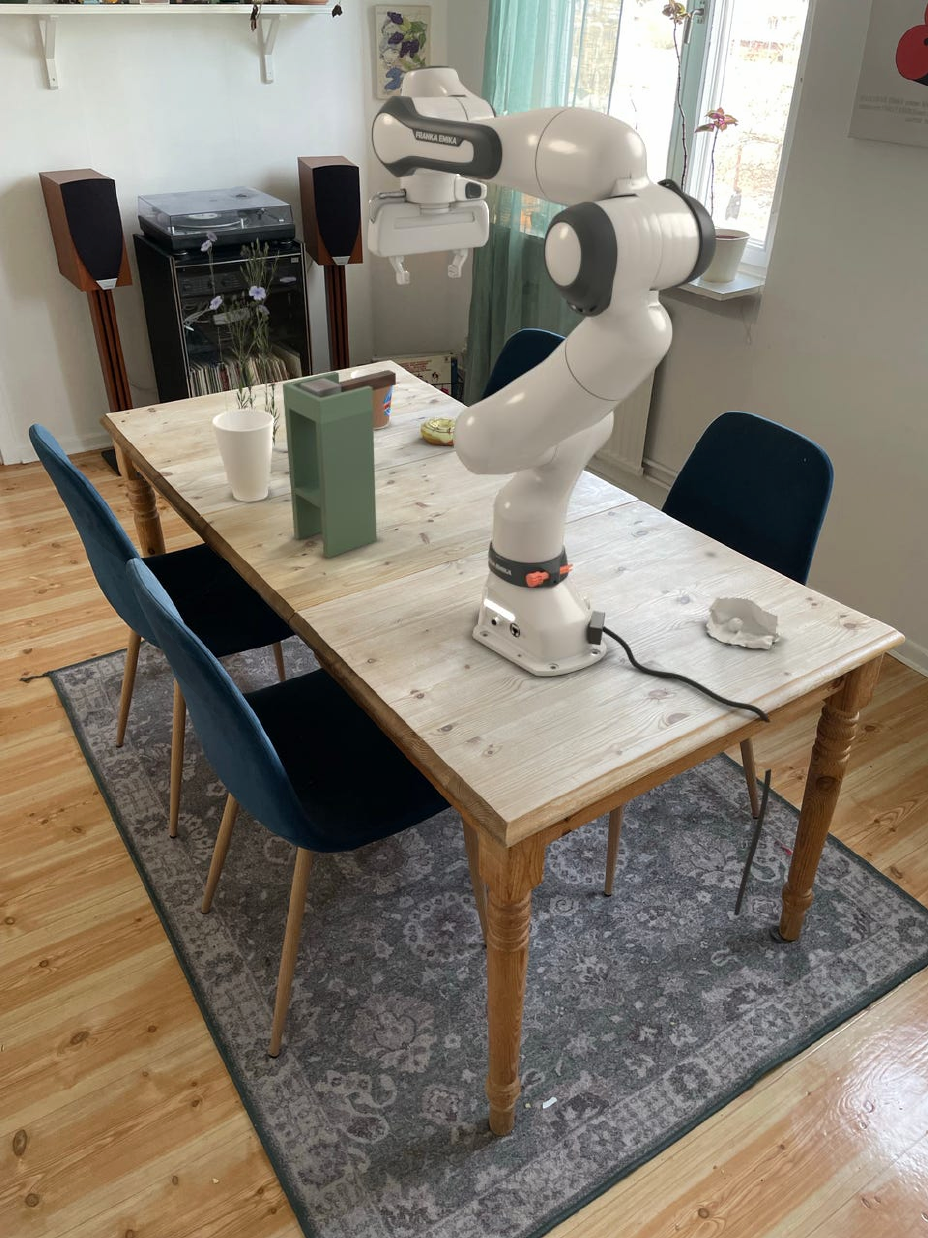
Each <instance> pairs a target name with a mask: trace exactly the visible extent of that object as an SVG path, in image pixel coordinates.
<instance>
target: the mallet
mask: <svg viewBox="0 0 928 1238" xmlns="http://www.w3.org/2000/svg"><path fill="white" fill-rule="evenodd" d="M385 370H386V371H382V372H378V373H374V374H370V375H366V376H362V377H358V378H354V379H351V378H350V379H346V380H342V381H339V382H337V383H334V382H332V381H330V380H328V379H325V378H322V379H318V380H314V381H310V382H305V383H301V384H300V389H303V390H305V391H307V392H309V393H311V394H313V395H315V396H318V397H320V398H322V397H326V396H330V395H334V394H338V393H342V392H346V391H350V390H354V389H358V388H362V387H366V386H370V387H372V391H373V390H377V389H381V388H385V387H389V386H393V387H394V386H396V385H397V373H396V372H395V371H392V370H390V369H385Z"/></svg>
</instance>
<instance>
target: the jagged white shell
mask: <svg viewBox="0 0 928 1238" xmlns="http://www.w3.org/2000/svg"><path fill="white" fill-rule="evenodd" d="M708 612H709V613H710V614H709V616H708V620H707V624H706V625H705V627H706V628H707V630H706V632H707V633H708V635H709V636H710V637H711V638H714V639H715V640H717V641H719V642H721V643H723V644H730V645H735V646H737V645H738V646H740V647H745V648H749V649H764V650H770V648H771V647H772V644H773V643H777V642H779V641H780V639H781V638H782V637H781V634H780V633H779V632H778V631H777V628H778V627H779V623H778V622H779V621H778V615H775V614H772V613H771V612H769V611H766V610H764V609H762V607H761V606H759V605H757V604H756V602H755V601H753V600H752V599H748V598H742V597H740V598H739V597H730V598H729V597H722V598H720V597H719V596H718V597H715V600H714V601H713V602H712V603H711V604H710V605H709V607H708Z"/></svg>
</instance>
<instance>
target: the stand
mask: <svg viewBox="0 0 928 1238" xmlns="http://www.w3.org/2000/svg"><path fill="white" fill-rule="evenodd" d="M339 374H340V373H339V372H337V371H330V372H326V373H323V374H318V375H315V376H310V377H307V378H301V379H297V380H293V381H289V382H285V383H282V391H283V392H282V393H283V395H282V396H283V407H284V418H285V419H284V420H285V430H286V431H285V433H286V445H287V446H286V447H287V459H288V471H289V483H290V485H289V486H290V497H291V511H292V512H291V513H292V522H293V524H292V525H293V535H294V538H295V539H297V540H302V539H304V538H308V537H310V536H313V535H316V534H319V533H322V549H323V552H322V553H323V557H325V558H327V559H331V558H333V557H336V556H338V555H342V554H344V553H347V552H350V551H352V550H356V549H357V548H360V547H364V546H365V545H368V544H371V543H374V542H377V540H378V539H377V505H376V503H377V501H376V471H375V469H376V468H375V466H376V465H375V435H374V434H375V433H374V432H375V431H374V430H375V429H374V428H373V392H372V387H370V386H366V387H362V388H358V389H354V390H350V391H346V392H342V393H338V394H334V395H330V396H326V397H322V398H320V397H318V396H315V395H313V394H311V393H309V392H307V391H305V390H303V389H300V384H301V383H305V382H310V381H314V380H318V379H322V378H325V379H328V380H330V381H332V382H334V383H337V382H340V375H339Z"/></svg>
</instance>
